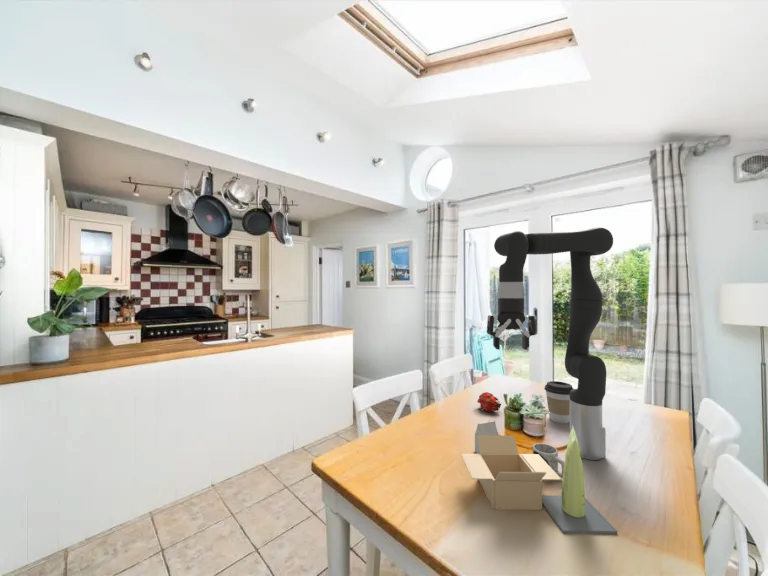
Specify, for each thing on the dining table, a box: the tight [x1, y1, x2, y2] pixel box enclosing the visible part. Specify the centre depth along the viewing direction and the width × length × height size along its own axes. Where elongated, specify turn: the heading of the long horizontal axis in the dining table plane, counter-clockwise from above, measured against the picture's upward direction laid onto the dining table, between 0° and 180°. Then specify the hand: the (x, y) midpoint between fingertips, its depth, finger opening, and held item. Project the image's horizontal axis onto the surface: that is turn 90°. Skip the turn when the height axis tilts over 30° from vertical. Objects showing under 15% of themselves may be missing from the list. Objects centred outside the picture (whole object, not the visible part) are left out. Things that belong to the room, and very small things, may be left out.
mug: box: [532, 442, 565, 479], centre depth 93 cm, size 10×7×7 cm
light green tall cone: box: [561, 425, 586, 518], centre depth 76 cm, size 6×5×20 cm
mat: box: [542, 494, 618, 535], centre depth 76 cm, size 12×12×1 cm
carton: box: [460, 435, 563, 511], centre depth 84 cm, size 22×19×11 cm
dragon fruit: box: [476, 391, 502, 414], centre depth 142 cm, size 8×8×12 cm
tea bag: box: [474, 420, 500, 454], centre depth 105 cm, size 4×7×10 cm, turn 110°
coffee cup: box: [543, 380, 574, 424], centre depth 132 cm, size 11×11×15 cm
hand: (511, 349), depth 97 cm, fingers open, 8 cm apart
